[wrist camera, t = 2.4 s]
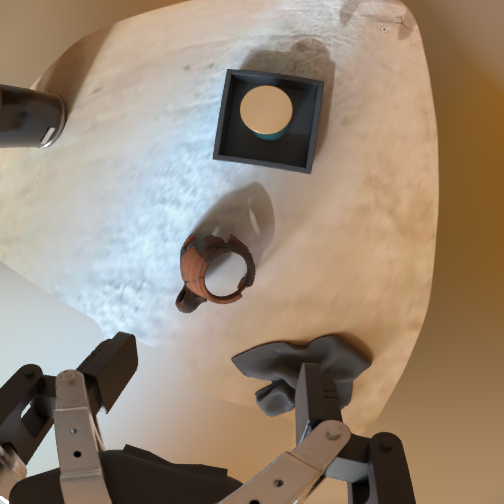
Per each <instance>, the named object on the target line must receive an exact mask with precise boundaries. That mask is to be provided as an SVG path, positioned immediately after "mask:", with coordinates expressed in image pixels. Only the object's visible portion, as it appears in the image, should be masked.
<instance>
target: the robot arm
mask: <svg viewBox="0 0 504 504" xmlns="http://www.w3.org/2000/svg"><path fill="white" fill-rule="evenodd" d="M65 119H66V106H65V103H64V100H63V99H62V97H60V96H59V95H57V94H52V93H45V92H41V91H36V90H31V89H26V88H20V87H14V86H8V85H2V84H0V148H16V147H37V148H46V147H49V146H50V145H52V144H53V143H54V142H55V141H56V140H57V139H58V137H59V136H60V134H61V132H62V130H63V127H64V124H65ZM137 366H138V356H137V348H136V339H135V336H134V335H133V334H129V333H125V332H118V333H117V334H116V335H115V336H114V337H113V339H107V340H105V341H103V342H101V343H100V344H99V345H98V346H97V347H96V348H95V350H94V351H92V353H91V355H89V356H88V357H87V358H86V359H85V360H84V361H83V362H82V363H81V365H79V367H78V368H77V369H76V370H65V371H63V372H61V373H60V374H58V376H57V377H56V376H49V375H43V372H42V369H41V368H40V367H39V366H38V365H35V364H27V365H24V366H22V367H21V368H20V369H19V370H18V371H17V372H16V373H15V374H14V375H13V376H12V377H11V378H10V379H9V380H8V381H7V382H6V383H5V384H4V385H3V386H2V387H1V388H0V499H2V500H3V501H5V502H6V503H7V504H303V503H304V502H305V500H306V499H307V498H308V497H309V496H310V495H311V494H312V493H313V492H314V491H315V490H316V489H317V488H318V487H319V485H320V484H321V483H322V482H323V481H324V480H325V479H326V477H330V478H334V479H338V480H342V481H347V485H348V504H416V501H415V497H414V492H413V487H412V482H411V478H410V474H409V469H408V465H407V462H406V457H405V453H404V449H403V445H402V442H401V440H400V439H399V438H398V437H397V436H396V435H394V434H392V433H388V432H380V433H377V434H375V435H374V436H373V437H372V438H366V437H362V436H358V435H355V434H353V433H351V432H350V429H349V428H348V427H347V425H345V424H344V423H343V421H342V415H341V410H340V405H339V400H338V395H337V392H336V391H337V390H336V385H335V382H334V381H333V379H332V378H331V377H330V376H329V375H321V370H320V365H319V364H315V363H303V364H302V367H301V371H300V375H299V379H298V383H297V387H296V393H295V415H296V447H295V448H294V449H293V450H292V451H291V452H287V451H286V452H284V453H282V454H281V455H280V456H278V457H277V458H276V459H275V460H274V461H273V462H271V463H270V464H269V465H268V466H266V467H265V468H264V469H263V470H262V471H260V472H259V473H258V474H257V475H255V476H254V477H253V478H252V479H250V480H249V481H248V482H246V483H245V484H243V483H241V482H240V481H238V480H236V479H234V478H232V477H229V476H227V469H223V468H218V467H212V466H207V465H202V464H173V463H170V462H168V461H166V460H164V459H162V458H160V457H159V456H157V455H155V454H153V453H151V452H149V451H146V450H143V449H140V448H136V447H133V446H130V445H127V444H126V445H125V447H124V449H123V450H107V451H106V449H105V447H104V443H103V440H102V435H101V432H100V428H99V424H98V419H97V416H96V415H97V413H98V412H99V411H100V412H103V413H106V414H108V412H109V411H110V409H111V408H112V406H113V405H114V403H115V402H116V400H117V399H118V397H119V396H120V394H121V392H122V391H123V390H124V388H125V387H126V385H127V383H128V382H129V381H130V379H131V378H132V376H133V375H134V373H135V371H136V370H137ZM29 403H30V405H31V407H30V409H28V411H27V412H26V413H25V415H24V416H23V417H22V418H21V414H22V411H23V410H24V409H25V408H26V406H27V405H28V404H29ZM53 424H54V426H55V436H56V445H57V452H58V458H59V465H60V467H59V468H56V469H53V470H50V471H47V472H44V473H41V474H37V475H34V476H31V477H27V478H26V474H27V469H26V465H27V464H28V462H29V460H30V459H31V457H32V456H33V454H34V452H35V451H36V449H37V448H38V446H39V445H40V443H41V442H42V440H43V439H44V437H45V436H46V434H47V433H48V431H49V430H50V428H51V427H52V425H53Z"/></svg>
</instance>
